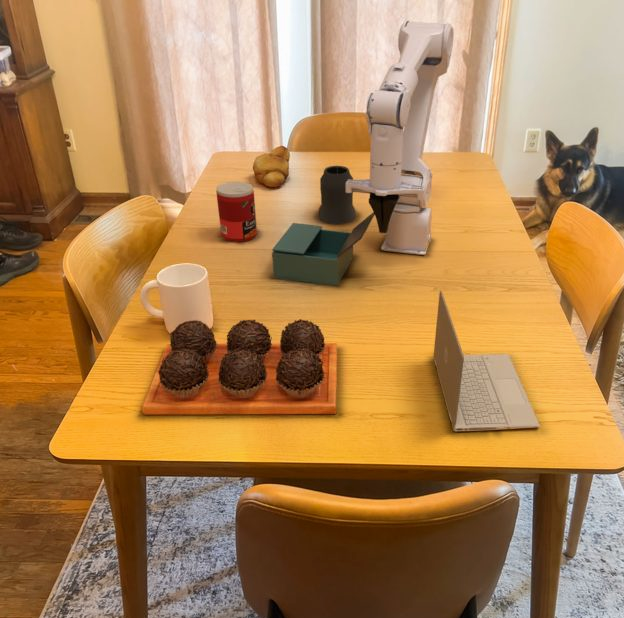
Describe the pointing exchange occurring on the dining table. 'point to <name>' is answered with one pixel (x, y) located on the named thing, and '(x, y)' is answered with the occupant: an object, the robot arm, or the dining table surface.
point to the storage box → (311, 255)
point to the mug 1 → (180, 295)
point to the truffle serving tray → (245, 372)
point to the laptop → (478, 384)
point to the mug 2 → (336, 196)
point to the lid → (356, 234)
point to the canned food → (236, 211)
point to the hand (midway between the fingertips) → (383, 231)
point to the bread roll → (272, 167)
